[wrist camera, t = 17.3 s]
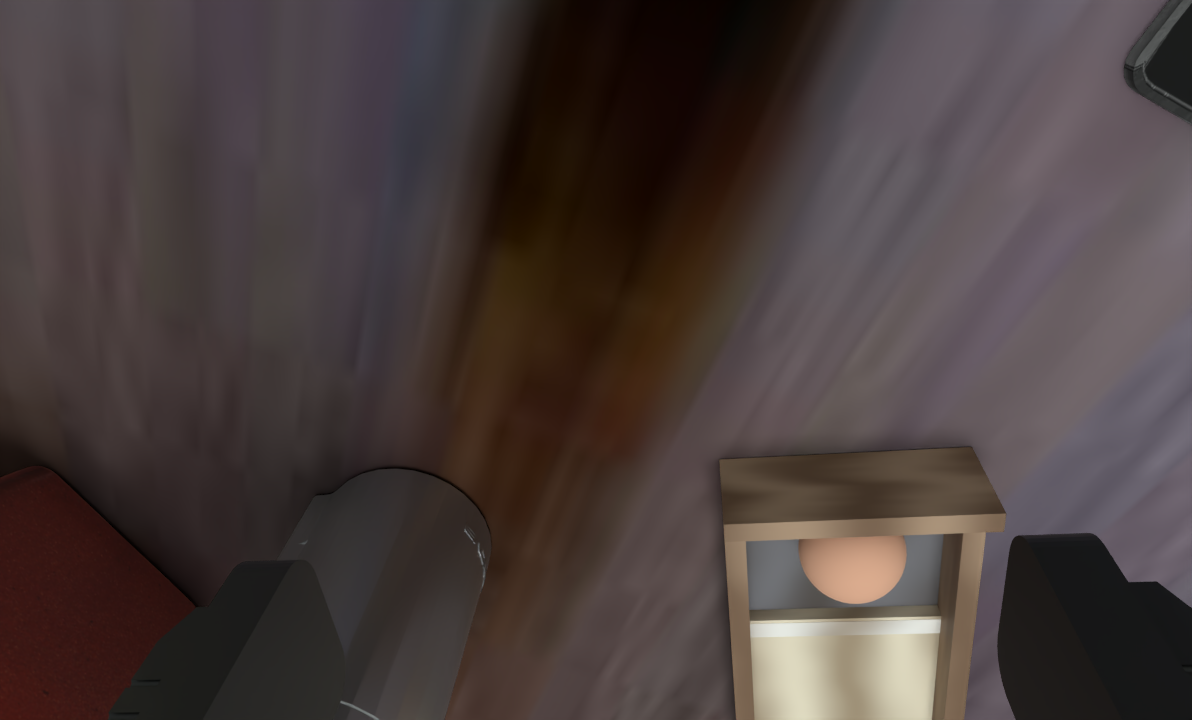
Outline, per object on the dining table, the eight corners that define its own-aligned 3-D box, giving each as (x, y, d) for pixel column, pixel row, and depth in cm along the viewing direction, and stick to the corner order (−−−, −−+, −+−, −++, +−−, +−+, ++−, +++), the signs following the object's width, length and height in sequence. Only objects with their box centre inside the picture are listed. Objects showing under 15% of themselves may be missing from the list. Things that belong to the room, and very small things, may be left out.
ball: (798, 495, 40) (808, 607, 39) (909, 490, 39) (923, 604, 38) (790, 503, 45) (799, 603, 44) (889, 499, 44) (901, 600, 43)
